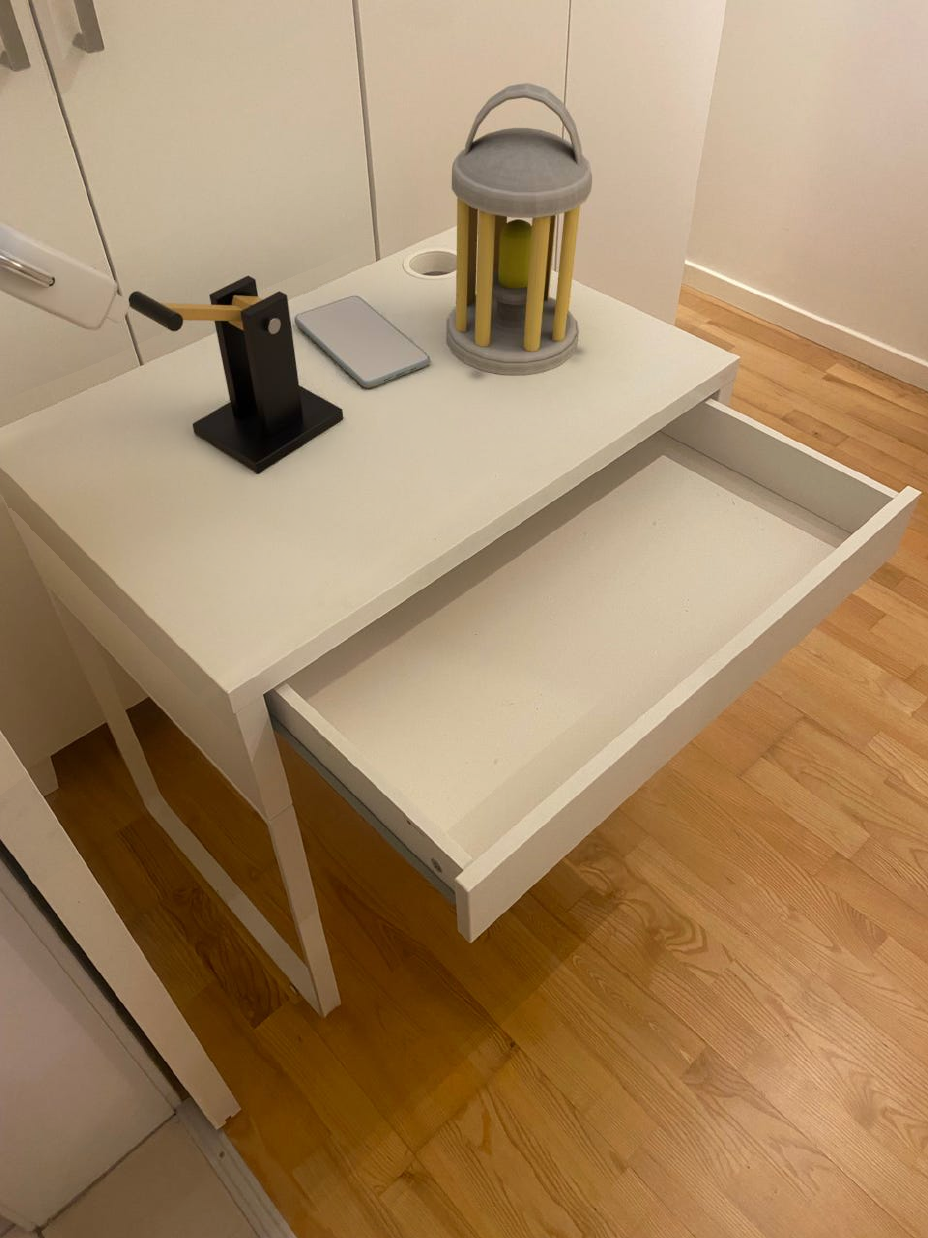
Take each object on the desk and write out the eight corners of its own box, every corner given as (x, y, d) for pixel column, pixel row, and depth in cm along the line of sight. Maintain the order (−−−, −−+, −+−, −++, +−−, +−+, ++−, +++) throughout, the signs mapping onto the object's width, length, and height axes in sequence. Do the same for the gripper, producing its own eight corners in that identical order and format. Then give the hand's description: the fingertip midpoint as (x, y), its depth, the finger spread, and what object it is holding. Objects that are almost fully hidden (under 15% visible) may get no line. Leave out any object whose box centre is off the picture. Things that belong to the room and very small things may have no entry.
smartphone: (365, 384, 95) (290, 315, 103) (365, 392, 96) (291, 323, 104) (434, 358, 99) (357, 292, 106) (434, 366, 99) (357, 300, 107)
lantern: (435, 367, 99) (433, 110, 80) (457, 296, 108) (460, 52, 90) (572, 381, 98) (602, 124, 79) (582, 309, 107) (612, 63, 88)
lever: (165, 337, 74) (170, 306, 73) (126, 314, 76) (130, 284, 75) (279, 337, 84) (285, 310, 83) (241, 317, 86) (246, 290, 85)
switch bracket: (258, 474, 87) (233, 340, 77) (194, 433, 91) (162, 301, 81) (343, 419, 93) (331, 287, 83) (280, 383, 97) (261, 253, 86)
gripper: (16, 202, 53) (191, 295, 65) (-171, 107, 61) (15, 205, 73) (-27, 308, 54) (153, 380, 66) (-205, 200, 62) (-15, 282, 74)
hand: (79, 287), depth 70 cm, fingers open, 8 cm apart
